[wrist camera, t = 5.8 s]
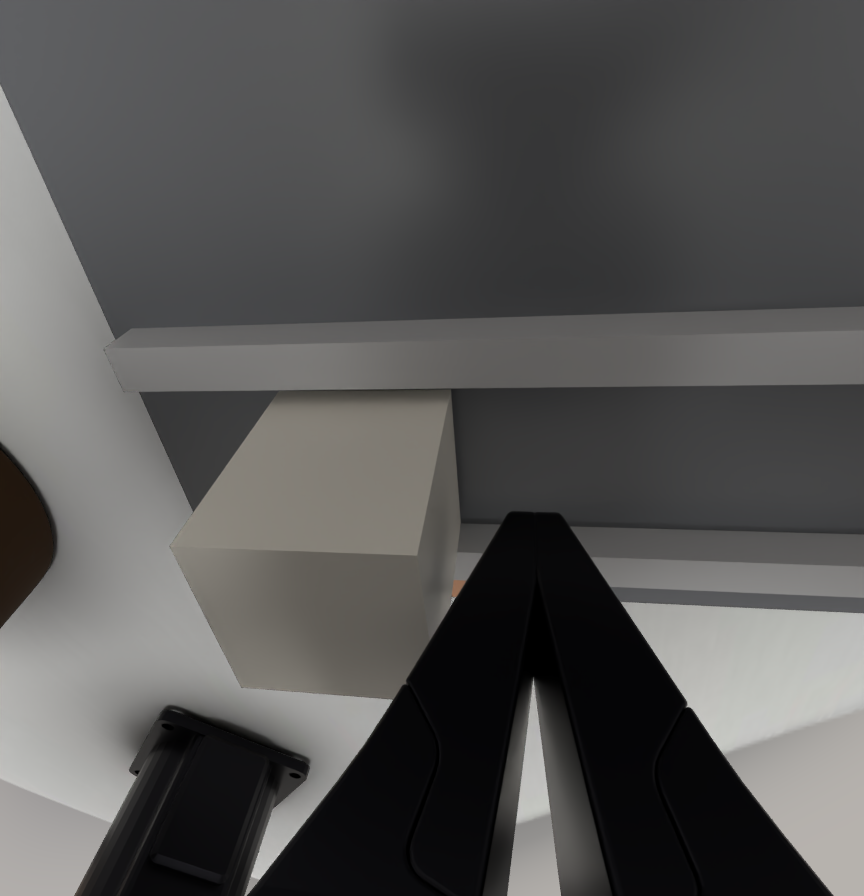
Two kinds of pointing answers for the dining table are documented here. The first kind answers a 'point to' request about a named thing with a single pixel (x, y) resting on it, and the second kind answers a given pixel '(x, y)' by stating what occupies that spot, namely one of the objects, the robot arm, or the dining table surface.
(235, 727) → the dining table surface
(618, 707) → the robot arm
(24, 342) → the dining table surface
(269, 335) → the switch panel
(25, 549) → the olive oil
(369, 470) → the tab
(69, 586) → the dining table surface
